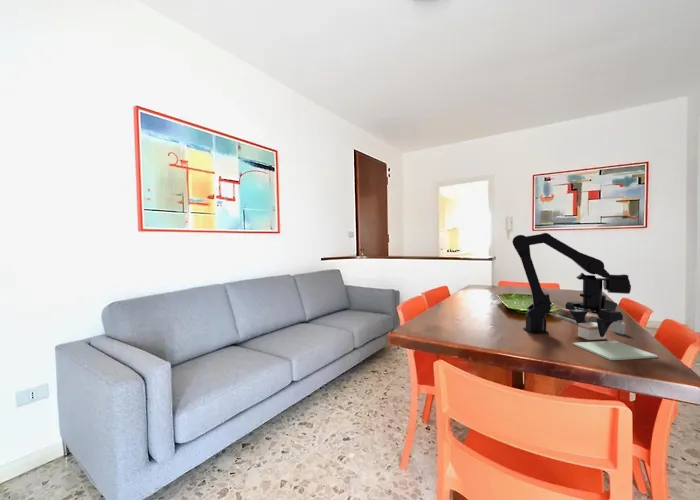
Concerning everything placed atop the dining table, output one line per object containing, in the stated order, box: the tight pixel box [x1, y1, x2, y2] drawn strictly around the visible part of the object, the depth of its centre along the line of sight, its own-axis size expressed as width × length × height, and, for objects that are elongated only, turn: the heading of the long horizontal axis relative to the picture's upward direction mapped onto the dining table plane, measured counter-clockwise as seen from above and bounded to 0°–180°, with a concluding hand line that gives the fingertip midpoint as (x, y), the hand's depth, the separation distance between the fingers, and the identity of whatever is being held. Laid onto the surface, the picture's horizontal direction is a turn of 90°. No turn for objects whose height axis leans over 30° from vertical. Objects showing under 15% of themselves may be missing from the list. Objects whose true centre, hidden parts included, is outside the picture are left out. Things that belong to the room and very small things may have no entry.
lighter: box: [611, 320, 626, 335], centre depth 121 cm, size 7×2×8 cm, turn 1°
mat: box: [572, 340, 659, 361], centre depth 101 cm, size 16×14×1 cm
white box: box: [577, 322, 607, 341], centre depth 115 cm, size 7×5×5 cm, turn 96°
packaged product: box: [554, 307, 599, 326], centre depth 136 cm, size 18×5×10 cm
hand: (591, 333), depth 115 cm, fingers open, 8 cm apart
